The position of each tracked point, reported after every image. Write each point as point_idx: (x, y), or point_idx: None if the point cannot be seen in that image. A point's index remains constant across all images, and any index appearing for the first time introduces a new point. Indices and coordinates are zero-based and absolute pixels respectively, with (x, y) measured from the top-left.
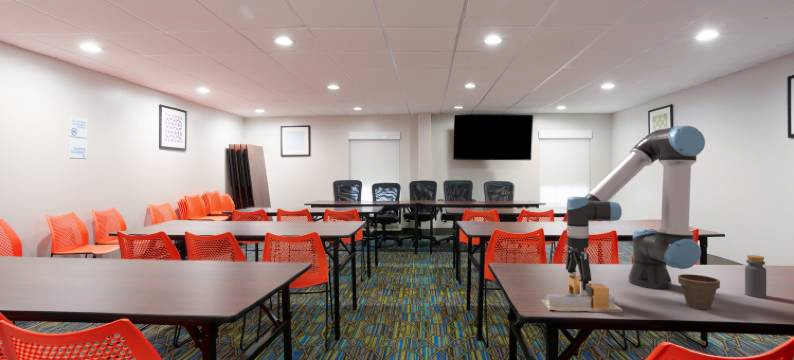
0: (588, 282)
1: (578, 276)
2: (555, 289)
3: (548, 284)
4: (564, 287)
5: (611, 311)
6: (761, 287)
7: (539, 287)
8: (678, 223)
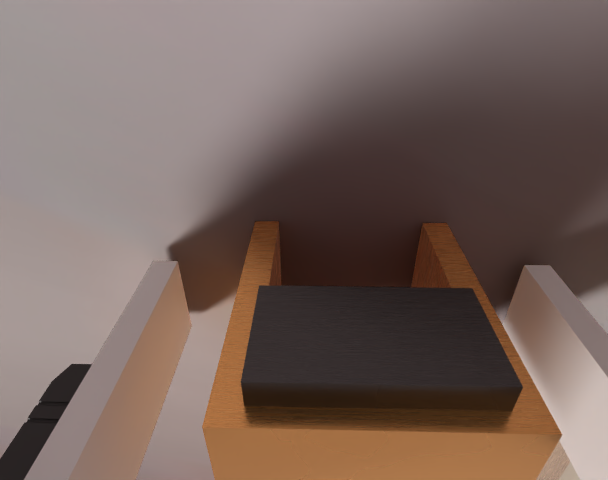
0: (505, 354)
1: (255, 475)
2: (185, 403)
3: (25, 407)
4: (83, 320)
5: None
6: None
7: (153, 472)
8: None
